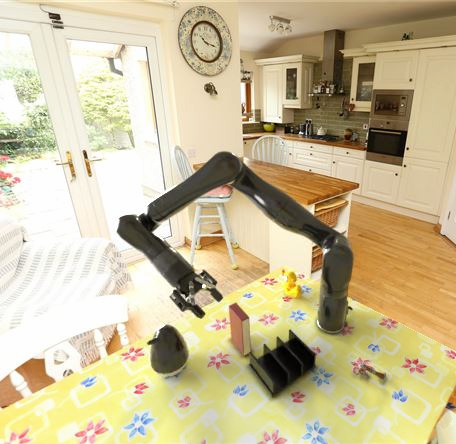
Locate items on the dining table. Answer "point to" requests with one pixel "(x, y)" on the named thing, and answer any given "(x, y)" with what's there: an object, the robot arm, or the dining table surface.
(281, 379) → the book rack
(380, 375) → the brown two-tone jointed fixture
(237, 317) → the book
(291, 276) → the duckling
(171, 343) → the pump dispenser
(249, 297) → the dining table surface
